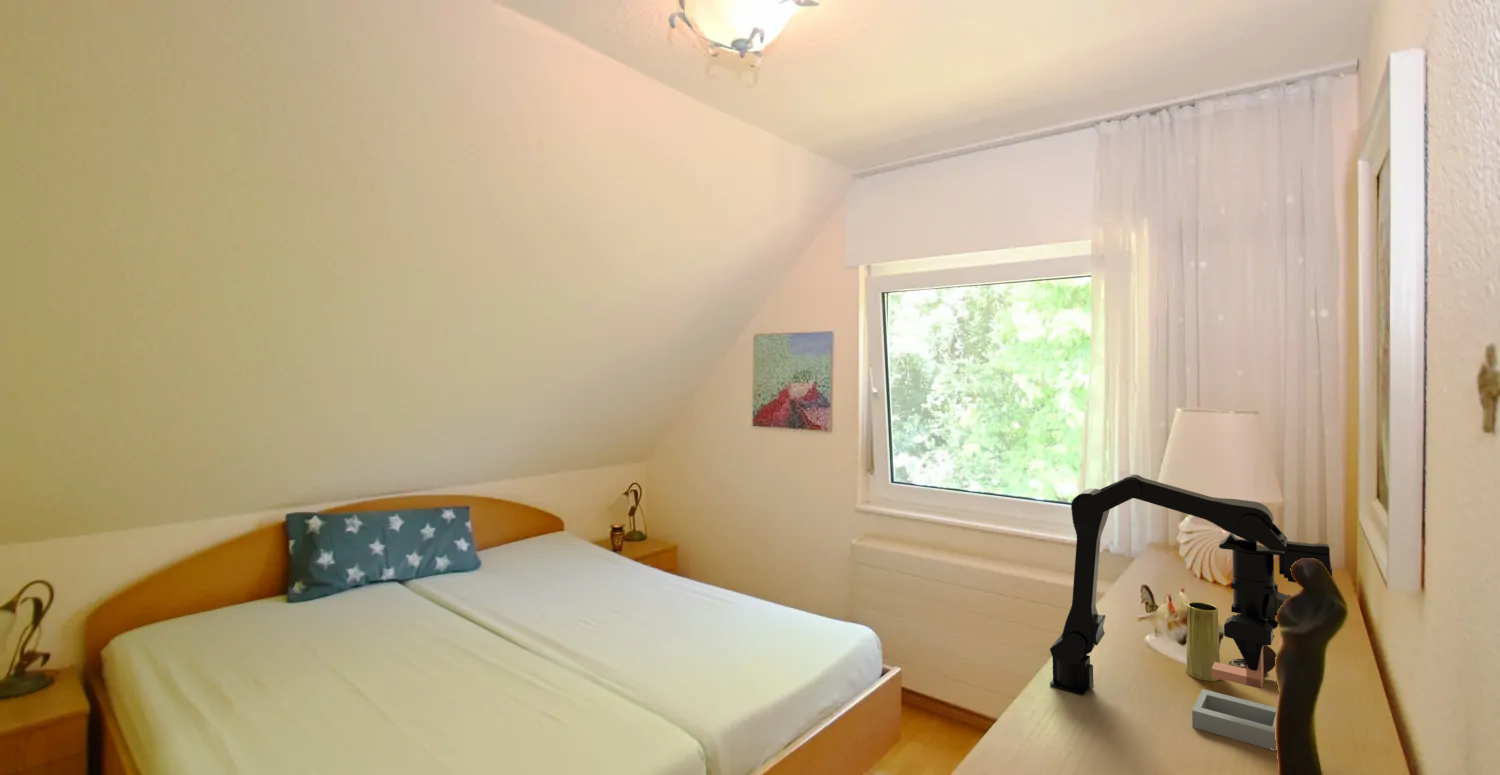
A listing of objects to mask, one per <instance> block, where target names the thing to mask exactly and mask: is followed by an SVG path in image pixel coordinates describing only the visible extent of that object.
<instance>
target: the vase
mask: <svg viewBox="0 0 1500 775" xmlns="http://www.w3.org/2000/svg"><path fill="white" fill-rule="evenodd" d="M1186 611H1187V614H1186V616H1187V619H1186V621H1187V622H1186V667H1185V673H1186V674H1187V675H1189V677H1192V678H1194V679H1196V680H1199V681H1204V682H1219V681H1220V680H1222V679H1218V678H1214V677H1212V667H1213V665H1214V662H1218V663H1221V659H1220V658H1221V657H1220V636H1219V608H1218V607H1217V606H1216V605H1214V604H1212V603H1208V602H1203V601H1190V602H1188V603H1187V610H1186Z"/></svg>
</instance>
